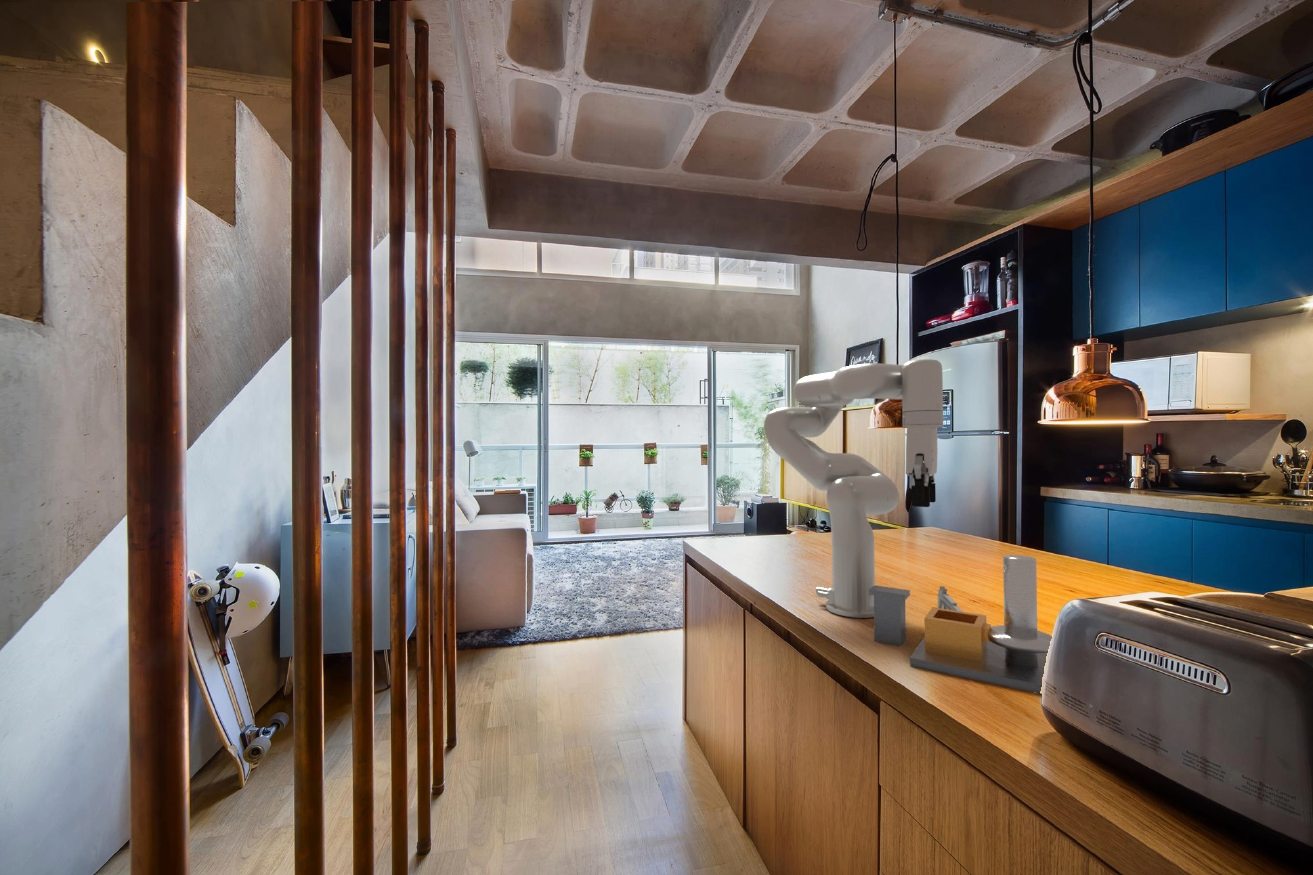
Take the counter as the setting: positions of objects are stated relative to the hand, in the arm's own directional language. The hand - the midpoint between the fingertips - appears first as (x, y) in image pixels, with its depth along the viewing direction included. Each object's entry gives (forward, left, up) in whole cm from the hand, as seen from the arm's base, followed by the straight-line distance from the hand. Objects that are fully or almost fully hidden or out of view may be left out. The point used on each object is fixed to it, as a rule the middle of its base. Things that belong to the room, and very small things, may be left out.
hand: (924, 504), depth 112 cm
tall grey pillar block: (-5, -7, -27) cm, 28 cm away
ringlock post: (+11, -9, -27) cm, 30 cm away
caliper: (+5, +12, -28) cm, 31 cm away
